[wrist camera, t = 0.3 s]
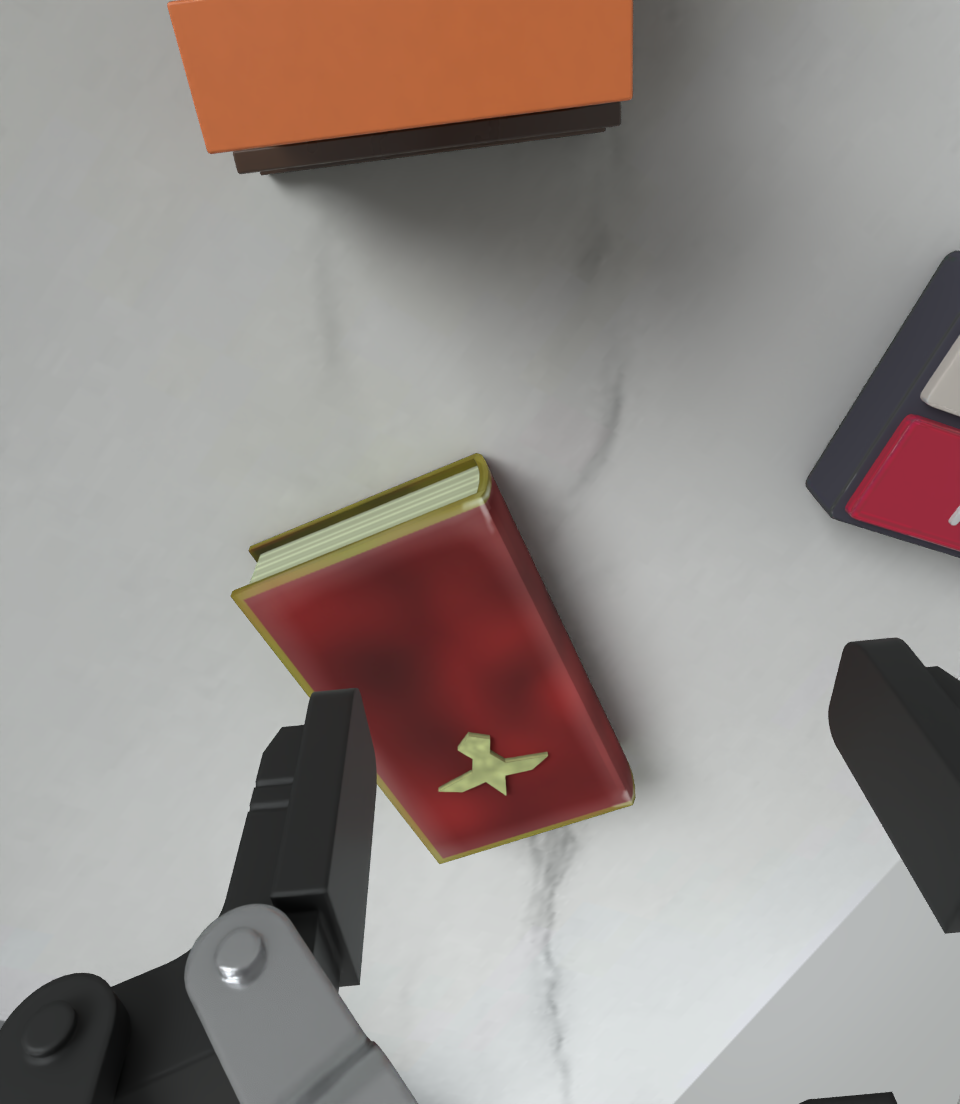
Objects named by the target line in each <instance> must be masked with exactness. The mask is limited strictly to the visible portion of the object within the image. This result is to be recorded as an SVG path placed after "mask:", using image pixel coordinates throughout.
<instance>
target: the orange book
mask: <svg viewBox="0 0 960 1104" xmlns="http://www.w3.org/2000/svg"><path fill="white" fill-rule="evenodd" d="M167 7H168V10H169V14H170V18H171V21H172V25H173V28H174V32H175V36H176V39H177V43H178V47H179V50H180V54H181V58H182V61H183V65H184V69H185V72H186V76H187V79H188V83H189V87H190V90H191V94H192V98H193V101H194V105H195V109H196V112H197V116H198V119H199V123H200V127H201V130H202V134H203V138H204V141H205V145H206V149H207V151H208V153H210V154H215V153H222V152H230V151H238V150H246V149H253V148H261V147H269V146H277V145H285V144H292V143H300V142H308V141H316V140H324V139H331V138H339V137H347V136H355V135H363V134H370V133H378V132H386V131H394V130H401V129H409V128H417V127H425V126H433V125H440V124H448V123H456V122H464V121H472V120H479V119H487V118H495V117H503V116H510V115H518V114H526V113H534V112H542V111H549V110H557V109H565V108H573V107H581V106H588V105H596V104H604V103H612V102H619V101H627V100H631V99H632V97H633V0H178V1H171V2H169V3H168V5H167Z"/></svg>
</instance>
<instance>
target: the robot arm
mask: <svg viewBox="0 0 960 1104" xmlns="http://www.w3.org/2000/svg"><path fill="white" fill-rule="evenodd" d="M828 719H829V726H830V731H831V734H832V737H833V740H834V742H835V745H836V747H837V748H838V750H839V752H840V754H841V755H842V757H843V759H844V760H845V762H846V764H847V766H848V767H849V769H850V771H851V772H852V774H853V776H854V778H855V779H856V781H857V783H858V785H859V786H860V788H861V790H862V791H863V793H864V795H865V797H866V798H867V800H868V802H869V803H870V805H871V807H872V809H873V810H874V812H875V814H876V816H877V817H878V819H879V821H880V822H881V824H882V826H883V828H884V829H885V831H886V833H887V834H888V836H889V838H890V840H891V841H892V843H893V845H894V847H895V848H896V850H897V852H898V853H899V855H900V857H901V859H902V860H903V862H904V864H905V865H906V867H907V869H908V871H909V872H910V874H911V876H912V877H913V879H914V881H915V882H916V884H917V886H918V888H919V890H920V891H921V893H922V895H923V896H924V898H925V900H926V902H927V903H928V905H929V907H930V908H931V910H932V912H933V914H934V915H935V917H936V919H937V920H938V922H939V924H940V926H941V927H942V929H943V931H944V933H956V932H960V681H959V680H958V679H956V678H955V677H953V676H952V675H950V674H949V673H947V672H946V671H944V670H943V669H941V668H940V667H938V666H935V667H925V666H924V665H923V663H922V662H921V661H920V660H919V658H918V657H917V656H916V655H915V653H914V652H913V651H912V650H911V649H910V647H909V646H908V645H907V644H906V643H905V642H904V641H903V640H901V639H899V638H886V639H876V640H865V641H855V642H849V643H847V644H846V646H845V647H844V649H843V652H842V656H841V660H840V664H839V668H838V672H837V676H836V680H835V684H834V689H833V693H832V697H831V701H830V705H829V711H828ZM376 787H377V769H376V758H375V751H374V746H373V742H372V738H371V734H370V730H369V726H368V722H367V718H366V713H365V709H364V705H363V701H362V697H361V693H360V691H359V689H358V688H348V689H338V690H328V691H317V692H313V693H312V694H311V696H310V700H309V705H308V709H307V714H306V719H305V724H304V725H299V726H289V727H282V728H281V729H280V730H279V732H278V733H277V735H276V736H275V737H274V739H273V740H272V741H271V743H270V744H269V746H268V747H267V748H266V750H265V751H264V752H263V755H262V759H261V763H260V767H259V770H258V774H257V778H256V788H254V790H253V794H252V798H251V802H250V812H248V814H247V818H246V822H245V826H244V829H243V833H242V837H241V841H240V845H239V849H238V853H237V857H236V861H235V865H234V869H233V873H232V877H231V881H230V885H229V889H228V892H227V896H226V900H225V903H224V906H223V909H222V911H221V913H220V915H219V917H218V918H217V919H216V920H215V921H213V922H212V923H211V924H210V925H209V926H208V927H207V928H206V929H205V930H204V931H203V932H202V933H201V935H200V936H199V937H198V939H197V940H196V942H195V943H194V945H193V947H192V948H191V949H190V950H189V951H188V952H186V953H185V954H183V955H182V956H180V957H179V958H177V959H175V960H173V961H171V962H169V963H167V964H165V965H162V966H160V967H158V968H155V969H153V970H151V971H148V972H146V973H143V974H141V975H139V976H136V977H134V978H131V979H129V980H127V981H124V982H122V983H120V984H117V985H115V986H112V987H110V986H109V984H108V983H107V982H106V981H105V980H104V979H102V978H101V977H99V976H96V975H94V974H89V973H74V974H70V975H65V976H62V977H60V978H57V979H55V980H53V981H51V982H49V983H47V984H45V985H43V986H42V987H40V988H39V989H37V990H36V991H34V992H33V993H32V994H31V995H30V996H28V997H27V998H26V999H25V1000H24V1001H23V1002H22V1003H21V1004H20V1005H19V1006H18V1007H17V1008H16V1009H15V1010H14V1011H13V1012H12V1014H11V1015H10V1016H9V1018H8V1019H7V1020H6V1022H5V1023H4V1025H3V1026H2V1028H1V1030H0V1104H418V1102H417V1101H416V1099H415V1098H414V1096H413V1095H412V1093H411V1092H410V1090H409V1089H408V1087H407V1086H406V1084H405V1083H404V1081H403V1080H402V1078H401V1077H400V1075H399V1074H398V1072H397V1071H396V1069H395V1068H394V1066H393V1065H392V1063H391V1062H390V1060H389V1059H388V1058H387V1056H386V1055H385V1053H384V1052H383V1051H382V1050H381V1048H380V1047H379V1046H378V1045H377V1044H376V1043H375V1042H374V1041H371V1040H370V1039H369V1038H368V1037H367V1036H366V1034H365V1033H364V1032H363V1030H362V1029H361V1027H360V1026H359V1024H358V1023H357V1021H356V1020H355V1018H354V1017H353V1015H352V1014H351V1012H350V1010H349V1009H348V1007H347V1006H346V1004H345V1003H344V1001H343V1000H342V998H341V997H340V995H339V994H338V991H339V987H342V986H353V985H360V975H361V963H362V952H363V940H364V928H365V917H366V905H367V893H368V881H369V870H370V858H371V846H372V835H373V823H374V811H375V800H376ZM800 1104H897V1102H896V1100H895V1097H894V1095H893V1093H892V1092H886V1093H875V1094H864V1095H854V1096H842V1097H832V1098H821V1099H809V1100H806V1101H804V1102H802V1103H800ZM957 1104H960V1098H959V1100H958V1103H957Z"/></svg>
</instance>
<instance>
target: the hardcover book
mask: <svg viewBox="0 0 960 1104" xmlns="http://www.w3.org/2000/svg"><path fill="white" fill-rule="evenodd" d="M249 552H250V554H251V555H252V556H253V558H254V559H255V560H256V562H257V565H256V568H255V571H254V573H253V576H252V579H251V581H250V584H249V585H246V586H244V587H241V588H239V589H236V590H234V591H233V592H232V594H231V598H232V599H233V600H234V601H235V603H236V604H237V605H238V607H239V608H240V609H241V610H242V612H243V613H244V614H245V615H246V617H247V618H248V619H249V621H250V622H251V623H252V624H253V626H254V627H255V628H256V630H257V631H258V632H259V633H260V635H261V636H262V637H263V639H264V640H265V641H266V642H267V644H268V645H269V646H270V648H271V649H272V650H273V651H274V653H275V654H276V655H277V656H278V658H279V659H280V660H281V662H282V663H283V664H284V665H285V667H286V668H287V669H288V671H289V672H290V673H291V674H292V676H293V677H294V678H295V680H296V681H297V682H298V683H299V685H300V686H301V687H302V689H303V690H304V691H305V692H306V694H307V695H308V696H309V697H310V696H311V694H312V693H313V692H317V691H328V690H338V689H348V688H358V689H359V691H360V693H361V697H362V701H363V705H364V709H365V713H366V718H367V722H368V726H369V730H370V734H371V738H372V742H373V746H374V751H375V758H376V769H377V785H378V786H379V787H380V788H381V790H382V791H383V792H384V794H385V795H386V796H387V797H388V799H389V800H390V801H391V803H392V804H393V805H394V806H395V808H396V809H397V810H398V812H399V813H400V814H401V815H402V817H403V818H404V819H405V821H406V822H407V823H408V824H409V826H410V827H411V828H412V830H413V831H414V832H415V833H416V835H417V836H418V837H419V838H420V840H421V841H422V842H423V844H424V845H425V846H426V847H427V849H428V850H429V851H430V853H431V854H432V855H433V856H434V858H435V859H436V860H437V862H438V863H439V864H442V863H445V862H448V861H452V860H455V859H458V858H461V857H465V856H468V855H471V854H475V853H478V852H481V851H484V850H488V849H491V848H494V847H497V846H501V845H504V844H507V843H510V842H514V841H517V840H520V839H523V838H527V837H530V836H533V835H536V834H540V833H543V832H546V831H550V830H553V829H556V828H559V827H563V826H566V825H569V824H572V823H576V822H579V821H582V820H585V819H589V818H592V817H595V816H598V815H602V814H605V813H608V812H611V811H615V810H618V809H621V808H625V807H628V806H631V805H633V803H634V800H635V784H634V779H633V774H632V771H631V768H630V766H629V763H628V761H627V759H626V757H625V754H624V752H623V750H622V748H621V746H620V744H619V742H618V740H617V738H616V735H615V733H614V731H613V729H612V727H611V725H610V723H609V721H608V719H607V716H606V714H605V712H604V710H603V708H602V706H601V704H600V702H599V700H598V697H597V695H596V693H595V691H594V689H593V687H592V685H591V683H590V681H589V678H588V676H587V674H586V672H585V670H584V668H583V666H582V664H581V662H580V659H579V657H578V655H577V653H576V651H575V649H574V647H573V645H572V643H571V640H570V638H569V636H568V634H567V632H566V630H565V628H564V626H563V624H562V621H561V619H560V617H559V615H558V613H557V611H556V609H555V607H554V605H553V602H552V600H551V598H550V596H549V594H548V592H547V590H546V588H545V586H544V583H543V581H542V579H541V577H540V575H539V573H538V571H537V569H536V567H535V564H534V562H533V560H532V558H531V556H530V554H529V552H528V550H527V548H526V545H525V543H524V541H523V539H522V537H521V535H520V533H519V531H518V529H517V526H516V524H515V522H514V520H513V518H512V516H511V514H510V512H509V510H508V507H507V505H506V503H505V501H504V499H503V497H502V495H501V493H500V491H499V489H498V486H497V484H496V482H495V480H494V478H493V476H492V474H491V472H490V470H489V467H488V465H487V463H486V461H485V460H484V458H483V456H482V455H480V454H478V453H476V454H473V455H471V456H468V457H466V458H464V459H461V460H459V461H456V462H454V463H451V464H449V465H447V466H444V467H442V468H439V469H437V470H434V471H432V472H430V473H427V474H425V475H422V476H420V477H418V478H415V479H413V480H410V481H408V482H405V483H403V484H401V485H398V486H396V487H393V488H391V489H388V490H386V491H384V492H381V493H379V494H376V495H374V496H371V497H369V498H367V499H364V500H362V501H359V502H357V503H354V504H352V505H350V506H347V507H345V508H342V509H340V510H338V511H335V512H333V513H330V514H328V515H325V516H323V517H321V518H318V519H316V520H313V521H311V522H308V523H306V524H304V525H301V526H299V527H296V528H294V529H291V530H289V531H287V532H284V533H282V534H279V535H277V536H274V537H272V538H270V539H267V540H265V541H262V542H260V543H258V544H255V545H253V546H250V549H249Z"/></svg>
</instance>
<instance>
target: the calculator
mask: <svg viewBox="0 0 960 1104" xmlns="http://www.w3.org/2000/svg"><path fill="white" fill-rule="evenodd" d="M806 487H807V489H808V490H809V491H810V492H811V494H812V495H813V496H814V497H815V499H816V500H817V501H818V502H819V504H820V505H821V506H822V507H823V508H824V510H825V511H826V512H827V513H828V514H829V516H830V517H831V518H833V519H836V520H839V521H842V522H845V523H848V524H852V525H855V526H858V527H861V528H865V529H868V530H871V531H874V532H878V533H881V534H884V535H887V536H891V537H894V538H897V539H900V540H904V541H907V542H910V543H913V544H917V545H920V546H923V547H926V548H929V549H933V550H936V551H939V552H942V553H946V554H949V555H952V556H955V557H959V558H960V251H954V252H951V253H950V254H948V255H947V256H946V257H945V258H944V260H943V261H942V263H941V264H940V266H939V267H938V269H937V271H936V272H935V274H934V275H933V277H932V279H931V280H930V282H929V283H928V285H927V287H926V288H925V290H924V292H923V293H922V295H921V296H920V298H919V300H918V301H917V303H916V304H915V306H914V308H913V309H912V311H911V312H910V314H909V316H908V317H907V319H906V320H905V322H904V324H903V325H902V327H901V328H900V330H899V332H898V333H897V335H896V336H895V338H894V340H893V341H892V343H891V345H890V346H889V348H888V349H887V351H886V353H885V354H884V356H883V357H882V359H881V361H880V362H879V364H878V365H877V367H876V369H875V370H874V372H873V373H872V375H871V377H870V378H869V380H868V381H867V383H866V385H865V386H864V388H863V390H862V391H861V393H860V394H859V396H858V398H857V399H856V401H855V402H854V404H853V406H852V407H851V409H850V410H849V412H848V414H847V415H846V417H845V418H844V420H843V422H842V423H841V425H840V426H839V428H838V430H837V431H836V433H835V434H834V436H833V438H832V439H831V441H830V443H829V444H828V446H827V447H826V449H825V451H824V452H823V454H822V455H821V457H820V459H819V460H818V462H817V463H816V465H815V467H814V468H813V470H812V471H811V473H810V475H809V476H808V478H807V480H806Z"/></svg>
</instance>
